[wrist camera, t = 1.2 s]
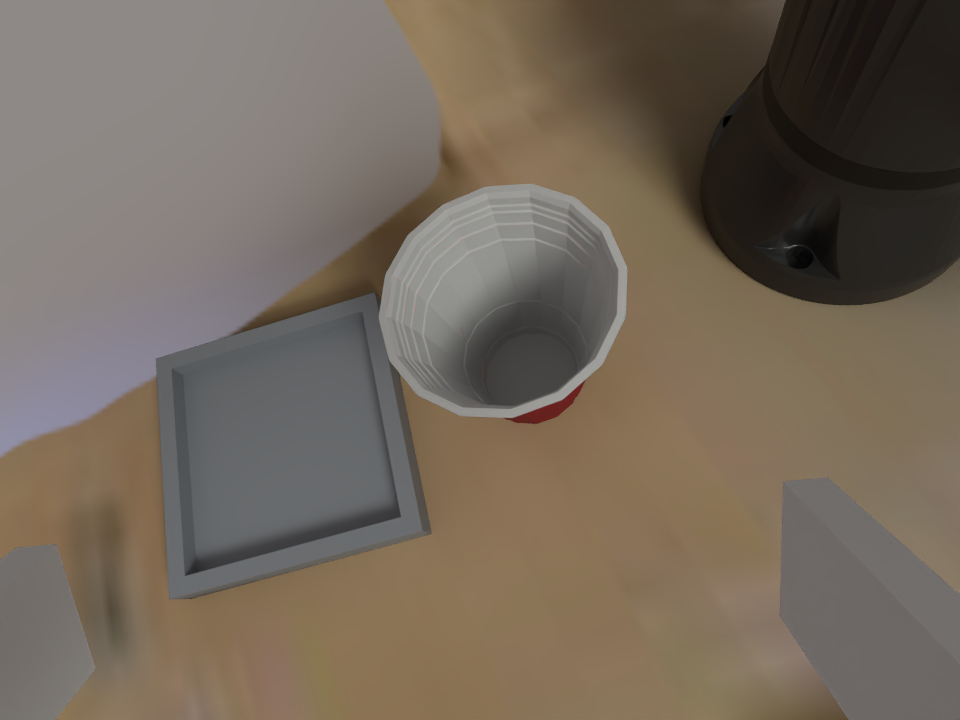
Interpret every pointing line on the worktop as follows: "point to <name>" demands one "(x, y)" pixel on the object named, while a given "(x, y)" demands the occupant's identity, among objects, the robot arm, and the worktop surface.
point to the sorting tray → (285, 450)
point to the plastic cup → (504, 303)
